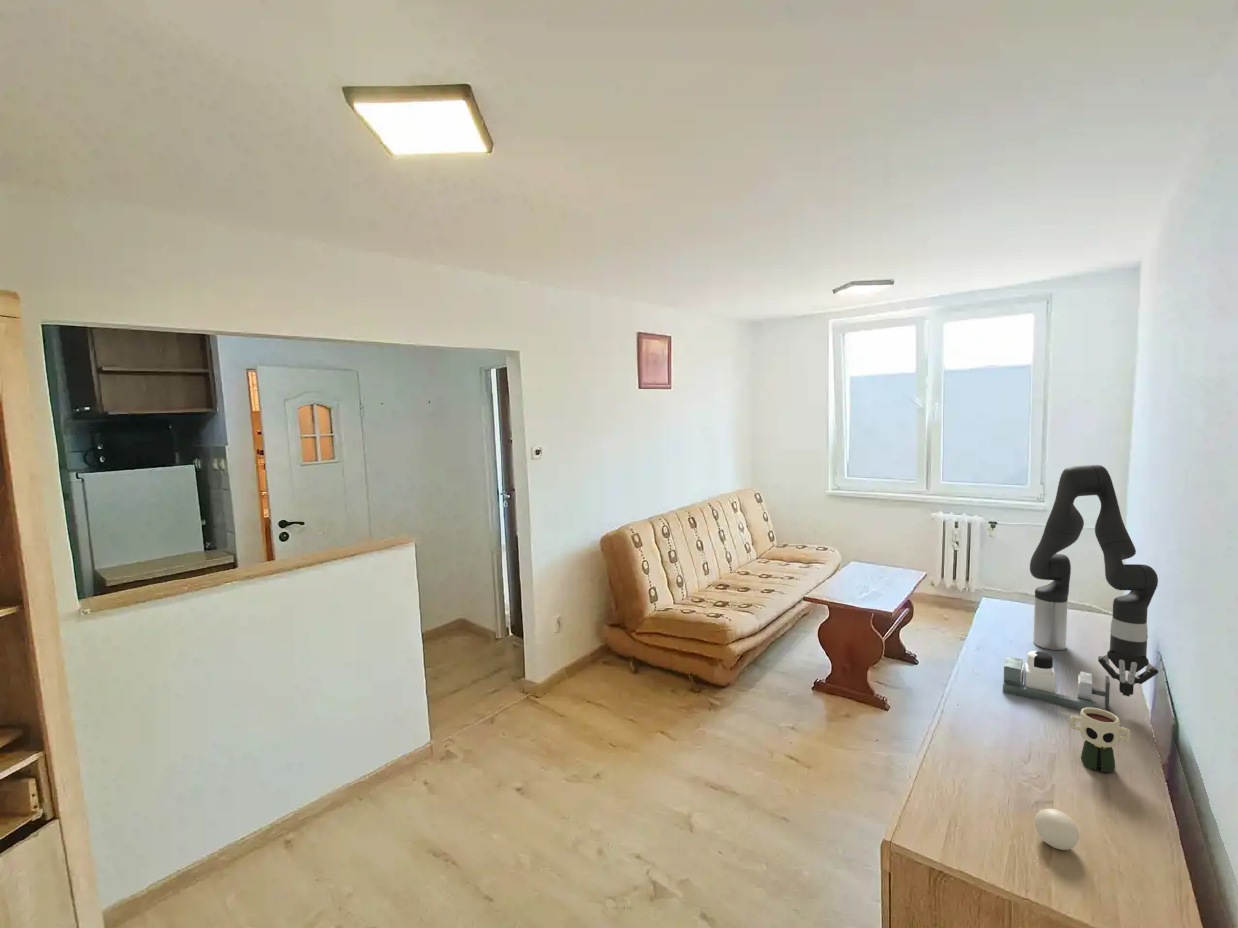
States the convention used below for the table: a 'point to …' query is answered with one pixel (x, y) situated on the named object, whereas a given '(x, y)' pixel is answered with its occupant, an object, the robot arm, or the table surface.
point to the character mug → (1099, 737)
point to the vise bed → (1015, 687)
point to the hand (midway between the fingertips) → (1125, 694)
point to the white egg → (1056, 829)
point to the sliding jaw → (1087, 690)
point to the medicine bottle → (1040, 672)
